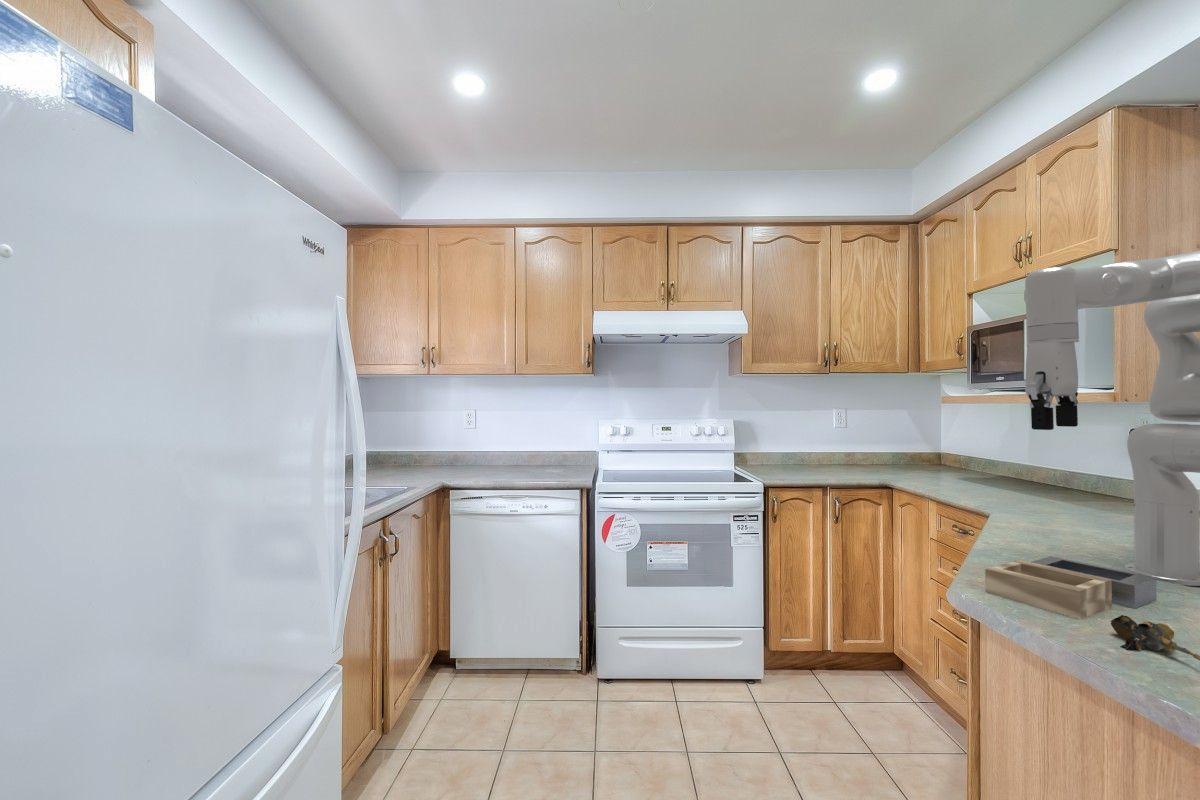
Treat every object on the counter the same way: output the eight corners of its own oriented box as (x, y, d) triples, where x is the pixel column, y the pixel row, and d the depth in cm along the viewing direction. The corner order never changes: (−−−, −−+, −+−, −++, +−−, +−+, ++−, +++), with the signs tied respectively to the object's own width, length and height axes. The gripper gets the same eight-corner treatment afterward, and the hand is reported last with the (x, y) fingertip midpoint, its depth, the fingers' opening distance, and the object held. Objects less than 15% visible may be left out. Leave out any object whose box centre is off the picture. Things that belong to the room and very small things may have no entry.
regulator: (1248, 674, 71) (1143, 630, 86) (1234, 644, 71) (1132, 605, 86) (1188, 694, 71) (1094, 646, 86) (1174, 664, 72) (1084, 622, 86)
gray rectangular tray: (1050, 575, 116) (1050, 556, 116) (1156, 599, 102) (1156, 577, 102) (1027, 583, 111) (1027, 562, 111) (1134, 609, 97) (1134, 585, 97)
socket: (1019, 585, 109) (1018, 559, 109) (1111, 608, 97) (1111, 579, 97) (985, 596, 103) (985, 568, 103) (1079, 622, 91) (1079, 591, 91)
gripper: (1049, 338, 113) (1052, 424, 113) (1005, 337, 104) (1008, 430, 104) (1097, 334, 106) (1100, 425, 106) (1054, 332, 97) (1057, 431, 97)
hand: (1055, 427), depth 105 cm, fingers open, 9 cm apart
